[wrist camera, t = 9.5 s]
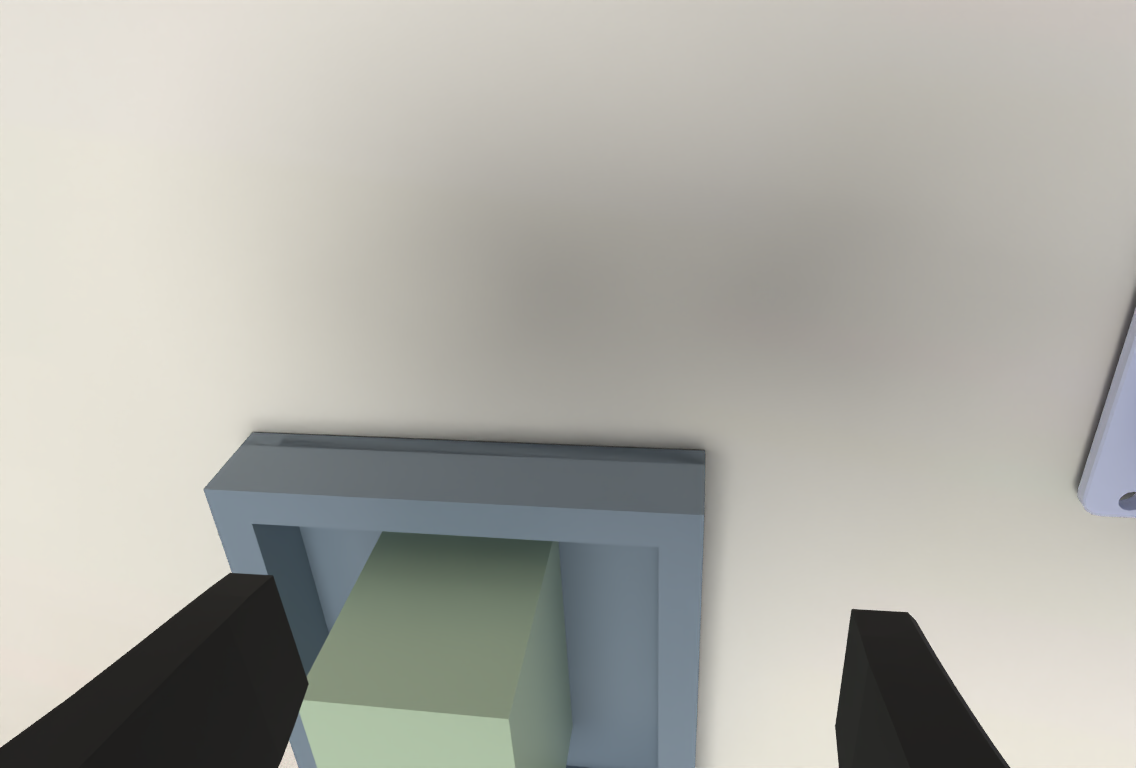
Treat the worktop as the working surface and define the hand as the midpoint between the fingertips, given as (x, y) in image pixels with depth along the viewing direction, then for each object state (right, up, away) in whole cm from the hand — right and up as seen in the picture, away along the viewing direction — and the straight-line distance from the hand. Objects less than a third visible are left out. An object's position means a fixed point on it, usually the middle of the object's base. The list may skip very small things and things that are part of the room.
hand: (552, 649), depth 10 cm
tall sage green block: (-2, -4, +13) cm, 14 cm away
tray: (-2, -4, +14) cm, 15 cm away
